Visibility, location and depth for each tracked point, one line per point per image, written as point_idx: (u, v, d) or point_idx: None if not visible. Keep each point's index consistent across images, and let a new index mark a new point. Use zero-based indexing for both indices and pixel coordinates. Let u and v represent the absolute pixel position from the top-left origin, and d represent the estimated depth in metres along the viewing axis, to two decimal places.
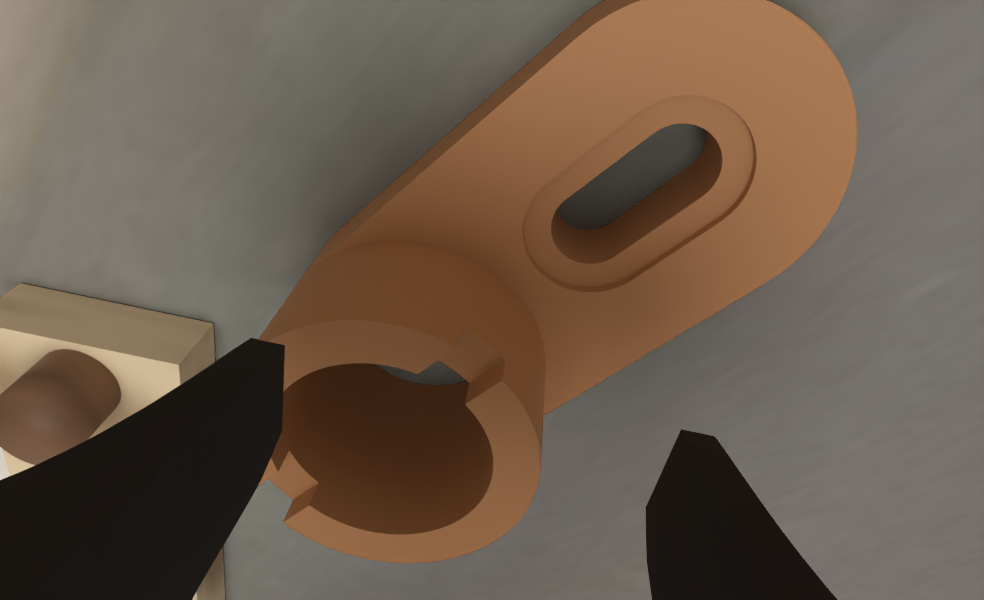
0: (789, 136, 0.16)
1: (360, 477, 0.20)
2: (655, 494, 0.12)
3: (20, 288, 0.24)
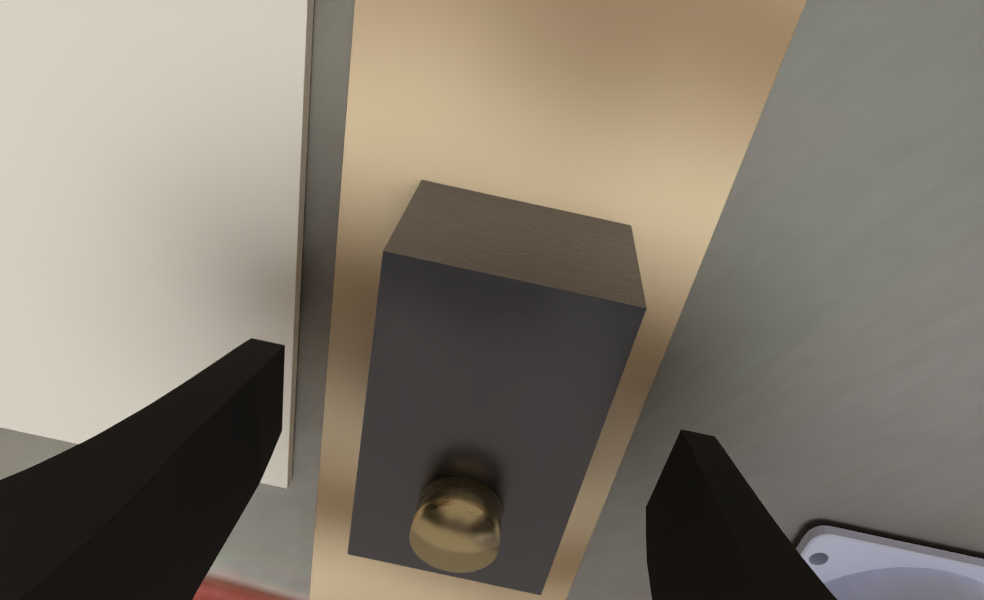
0: None
1: None
2: (655, 494, 0.12)
3: None
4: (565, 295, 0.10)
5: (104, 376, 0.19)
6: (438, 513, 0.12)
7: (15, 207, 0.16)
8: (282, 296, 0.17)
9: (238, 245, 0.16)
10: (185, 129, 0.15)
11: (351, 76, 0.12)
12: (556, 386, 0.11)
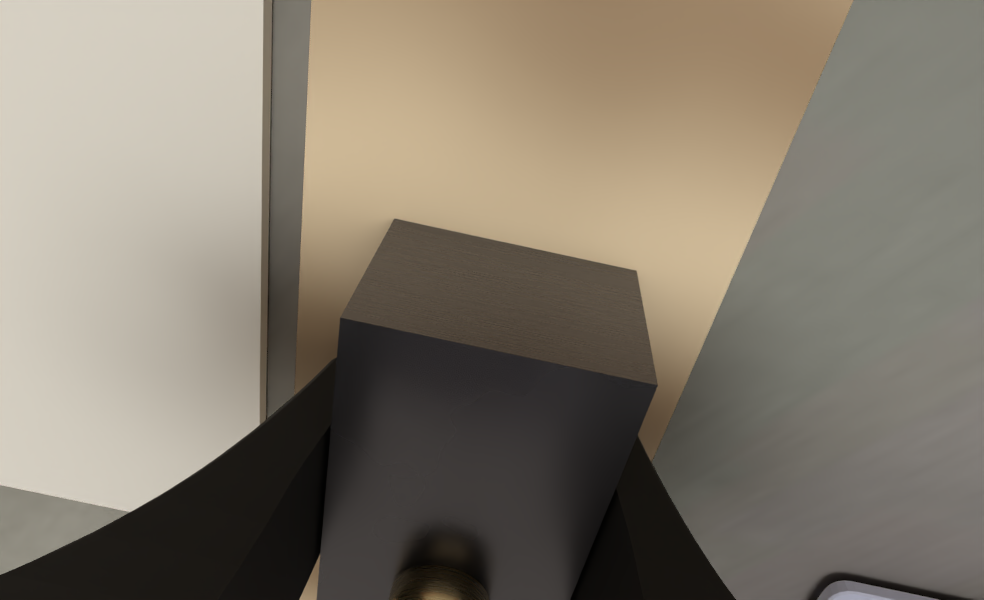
0: None
1: None
2: None
3: None
4: (560, 370, 0.08)
5: (54, 421, 0.17)
6: None
7: None
8: (246, 337, 0.15)
9: (195, 282, 0.14)
10: (130, 155, 0.13)
11: (309, 101, 0.10)
12: (550, 470, 0.09)
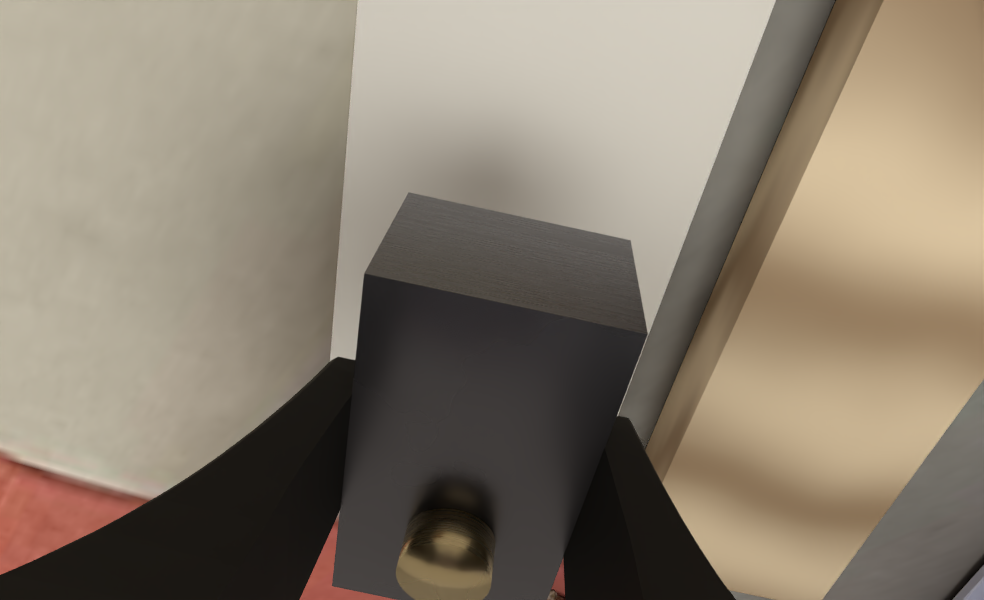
0: None
1: None
2: None
3: None
4: (560, 321, 0.09)
5: None
6: (426, 548, 0.11)
7: None
8: (653, 294, 0.20)
9: None
10: (615, 160, 0.18)
11: (828, 126, 0.15)
12: (551, 415, 0.10)
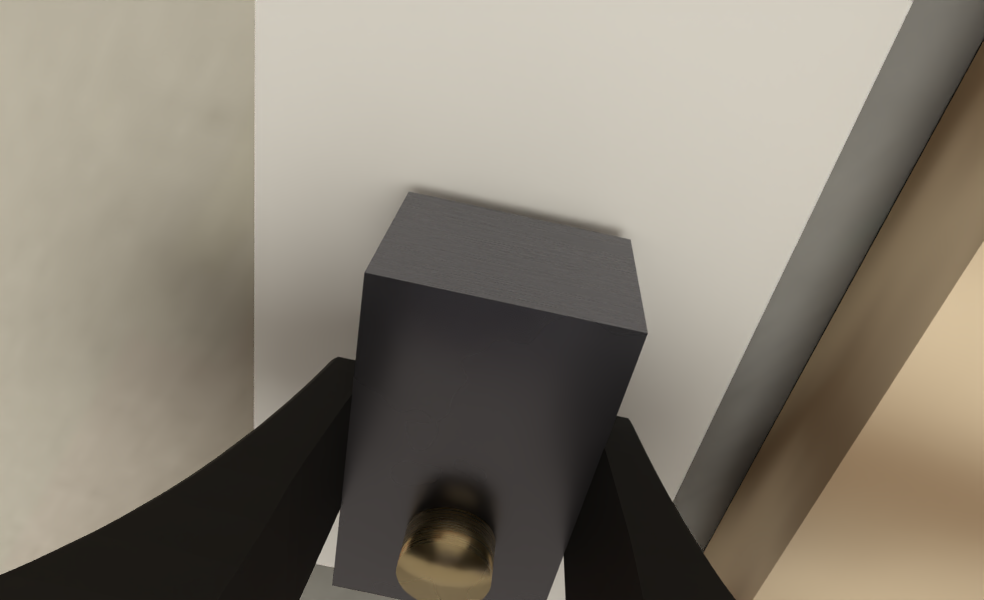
0: None
1: None
2: None
3: None
4: (560, 320, 0.09)
5: None
6: (426, 547, 0.11)
7: None
8: (686, 442, 0.15)
9: (653, 391, 0.14)
10: None
11: (979, 256, 0.10)
12: (551, 414, 0.10)
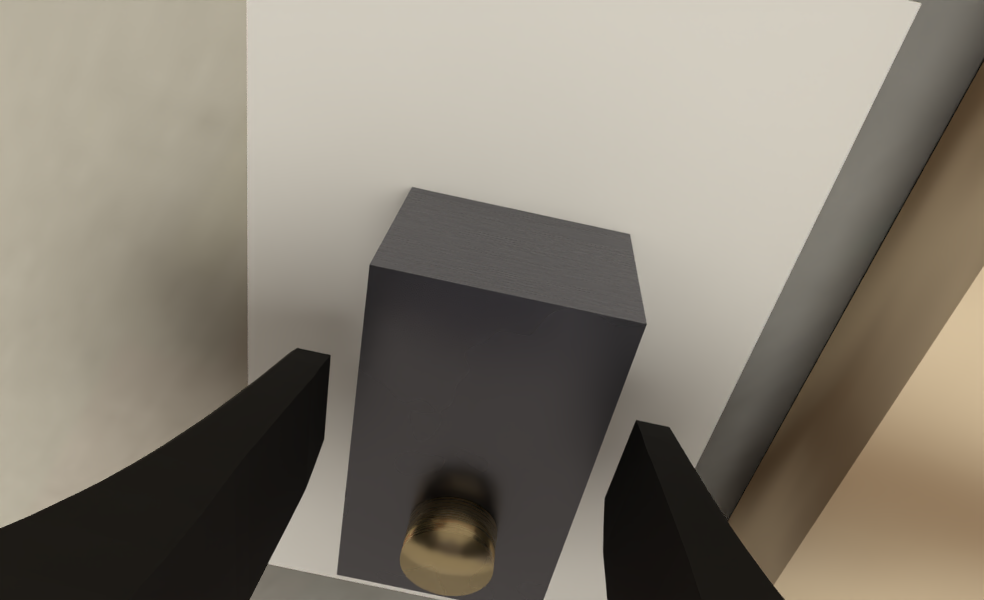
0: None
1: None
2: (612, 485, 0.12)
3: None
4: (561, 311, 0.10)
5: None
6: (430, 535, 0.11)
7: None
8: (687, 451, 0.14)
9: (654, 400, 0.14)
10: None
11: None
12: (552, 404, 0.10)
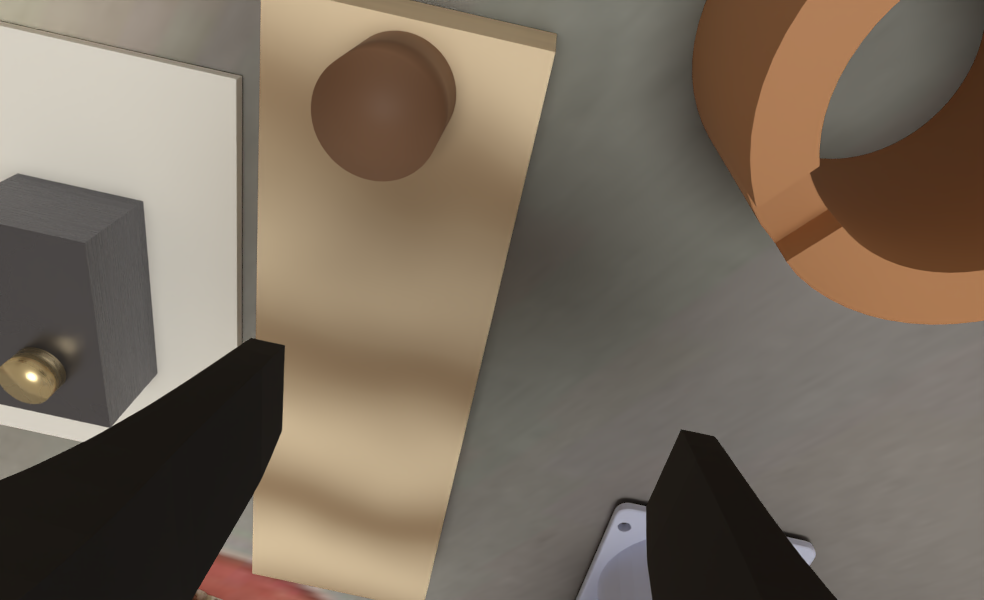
0: None
1: (850, 221, 0.15)
2: (655, 494, 0.12)
3: None
4: (41, 236, 0.19)
5: None
6: (9, 364, 0.20)
7: None
8: (228, 338, 0.24)
9: (196, 304, 0.23)
10: (158, 229, 0.22)
11: (258, 214, 0.19)
12: (60, 288, 0.19)
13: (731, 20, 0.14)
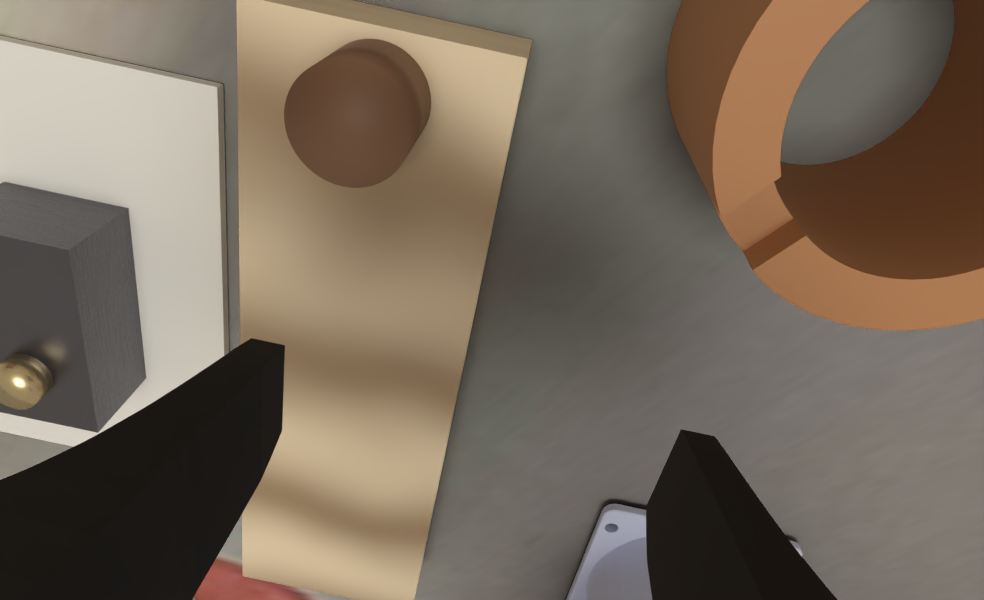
0: None
1: (818, 229, 0.15)
2: (655, 494, 0.12)
3: None
4: (26, 243, 0.19)
5: None
6: None
7: None
8: (215, 343, 0.24)
9: (182, 309, 0.23)
10: (143, 235, 0.22)
11: (240, 220, 0.19)
12: (45, 295, 0.20)
13: (698, 32, 0.15)
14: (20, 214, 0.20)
